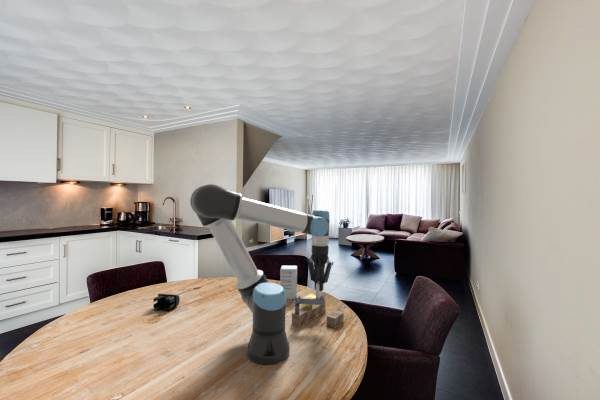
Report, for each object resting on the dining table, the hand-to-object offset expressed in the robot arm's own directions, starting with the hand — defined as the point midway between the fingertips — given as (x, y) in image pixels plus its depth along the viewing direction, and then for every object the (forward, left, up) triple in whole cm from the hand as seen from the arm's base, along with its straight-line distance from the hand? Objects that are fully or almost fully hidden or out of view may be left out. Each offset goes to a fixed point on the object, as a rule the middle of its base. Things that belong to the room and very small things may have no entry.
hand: (318, 297), depth 124 cm
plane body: (+3, +7, -12) cm, 14 cm away
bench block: (+5, -6, -12) cm, 14 cm away
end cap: (-32, +69, -12) cm, 77 cm away
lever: (-4, +2, -2) cm, 5 cm away
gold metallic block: (+5, +7, -7) cm, 11 cm away
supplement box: (+19, +32, -12) cm, 39 cm away
